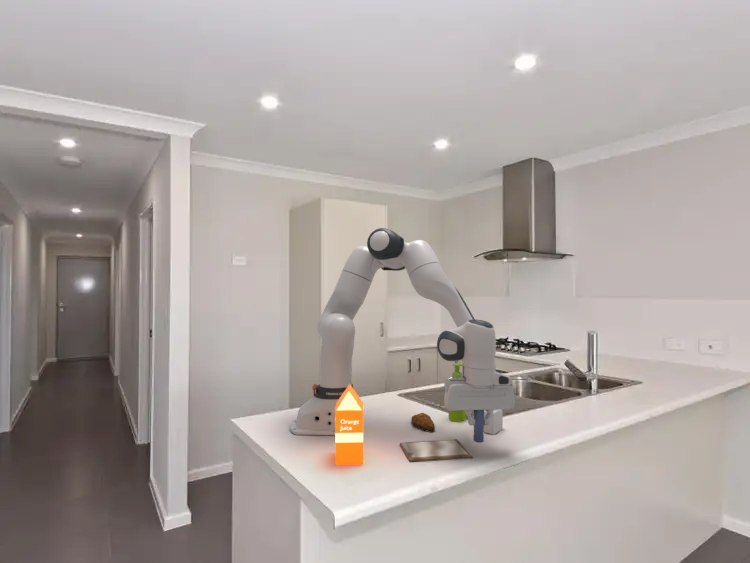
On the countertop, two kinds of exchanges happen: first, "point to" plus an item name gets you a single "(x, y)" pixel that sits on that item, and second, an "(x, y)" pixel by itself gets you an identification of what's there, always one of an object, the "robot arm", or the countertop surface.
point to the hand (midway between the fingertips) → (478, 424)
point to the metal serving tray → (434, 450)
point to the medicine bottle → (494, 422)
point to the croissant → (423, 422)
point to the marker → (479, 426)
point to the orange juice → (349, 429)
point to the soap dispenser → (457, 414)
